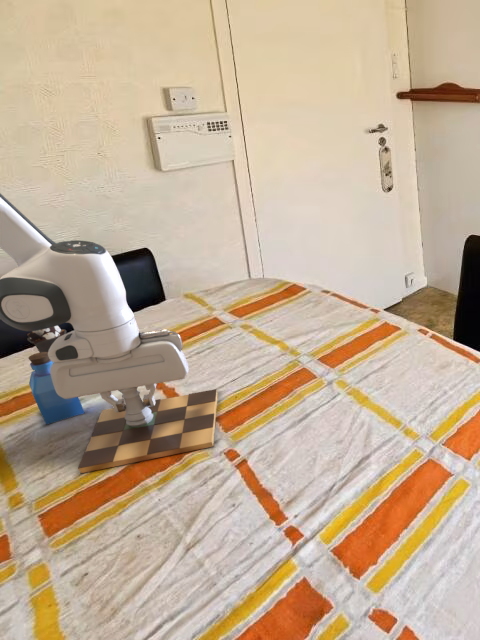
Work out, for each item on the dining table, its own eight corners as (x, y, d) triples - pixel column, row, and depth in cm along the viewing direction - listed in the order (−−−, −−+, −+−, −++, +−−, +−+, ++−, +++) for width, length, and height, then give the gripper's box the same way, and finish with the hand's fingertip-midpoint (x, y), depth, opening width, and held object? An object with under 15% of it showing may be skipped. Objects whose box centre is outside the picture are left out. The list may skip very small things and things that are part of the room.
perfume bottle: (46, 424, 115) (20, 366, 109) (41, 411, 119) (16, 355, 113) (84, 412, 118) (61, 356, 112) (79, 400, 122) (56, 345, 117)
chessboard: (80, 473, 101) (78, 468, 100) (103, 414, 117) (101, 409, 117) (213, 446, 107) (211, 441, 106) (217, 393, 123) (216, 389, 123)
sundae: (80, 368, 135) (54, 303, 128) (86, 379, 130) (59, 312, 123) (44, 378, 131) (15, 312, 124) (49, 389, 127) (19, 321, 120)
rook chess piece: (159, 418, 113) (146, 379, 110) (135, 430, 110) (121, 390, 106) (145, 412, 116) (131, 374, 112) (121, 423, 112) (106, 384, 108)
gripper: (179, 321, 111) (199, 388, 117) (46, 340, 105) (75, 410, 111) (175, 334, 106) (197, 404, 112) (35, 355, 99) (67, 428, 106)
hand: (135, 407), depth 112 cm, fingers closed on rook chess piece, 3 cm apart
